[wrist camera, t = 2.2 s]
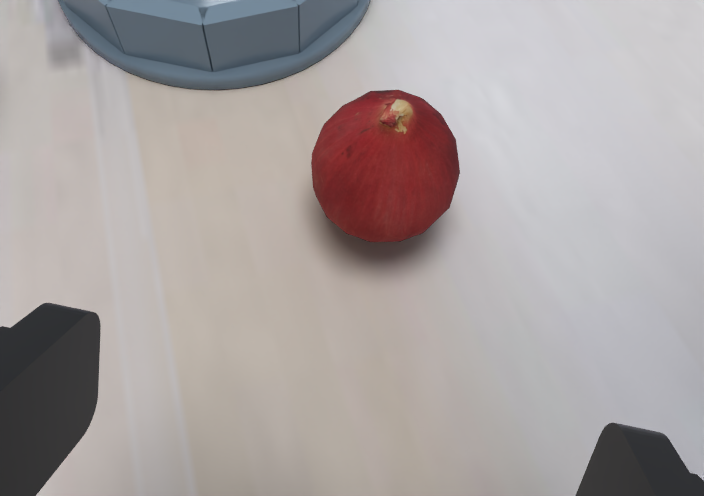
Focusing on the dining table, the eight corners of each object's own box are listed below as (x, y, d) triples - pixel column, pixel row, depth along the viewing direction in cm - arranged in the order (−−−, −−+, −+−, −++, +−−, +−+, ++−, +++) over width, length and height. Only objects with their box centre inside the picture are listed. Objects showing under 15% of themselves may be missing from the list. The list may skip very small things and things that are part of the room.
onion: (309, 157, 28) (309, 31, 21) (431, 155, 29) (472, 32, 21) (313, 273, 26) (315, 177, 19) (445, 269, 26) (498, 174, 19)
